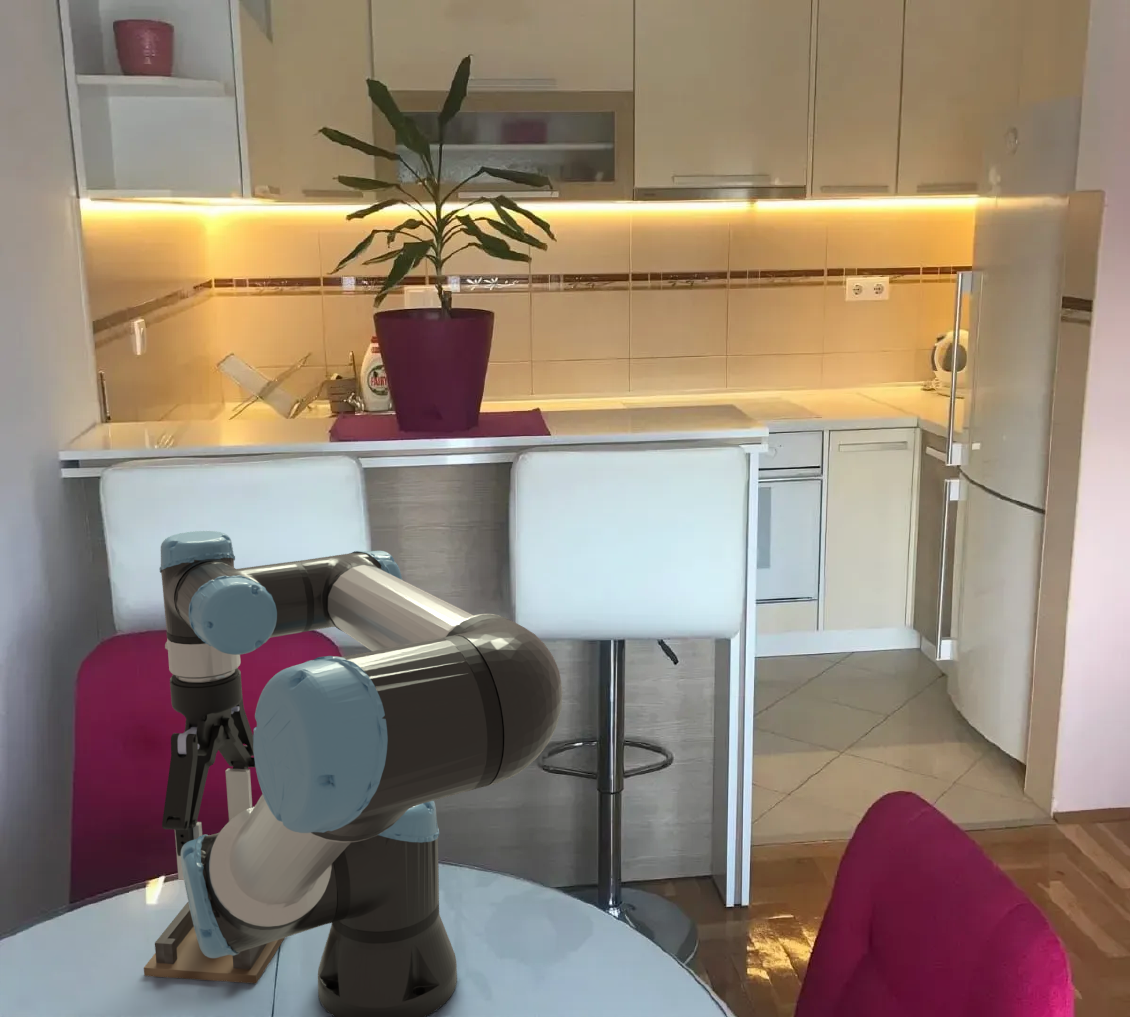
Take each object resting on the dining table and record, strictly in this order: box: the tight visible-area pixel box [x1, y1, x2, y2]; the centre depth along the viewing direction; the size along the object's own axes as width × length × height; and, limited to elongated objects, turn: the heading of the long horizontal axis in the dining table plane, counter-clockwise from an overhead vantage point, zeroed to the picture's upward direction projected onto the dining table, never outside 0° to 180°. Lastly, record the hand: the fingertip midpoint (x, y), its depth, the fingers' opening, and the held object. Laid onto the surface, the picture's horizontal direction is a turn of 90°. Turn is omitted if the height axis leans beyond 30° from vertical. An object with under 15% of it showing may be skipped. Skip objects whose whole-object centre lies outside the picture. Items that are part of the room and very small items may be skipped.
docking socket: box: [143, 901, 285, 984], centre depth 131 cm, size 13×13×4 cm
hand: (217, 848), depth 128 cm, fingers open, 13 cm apart
